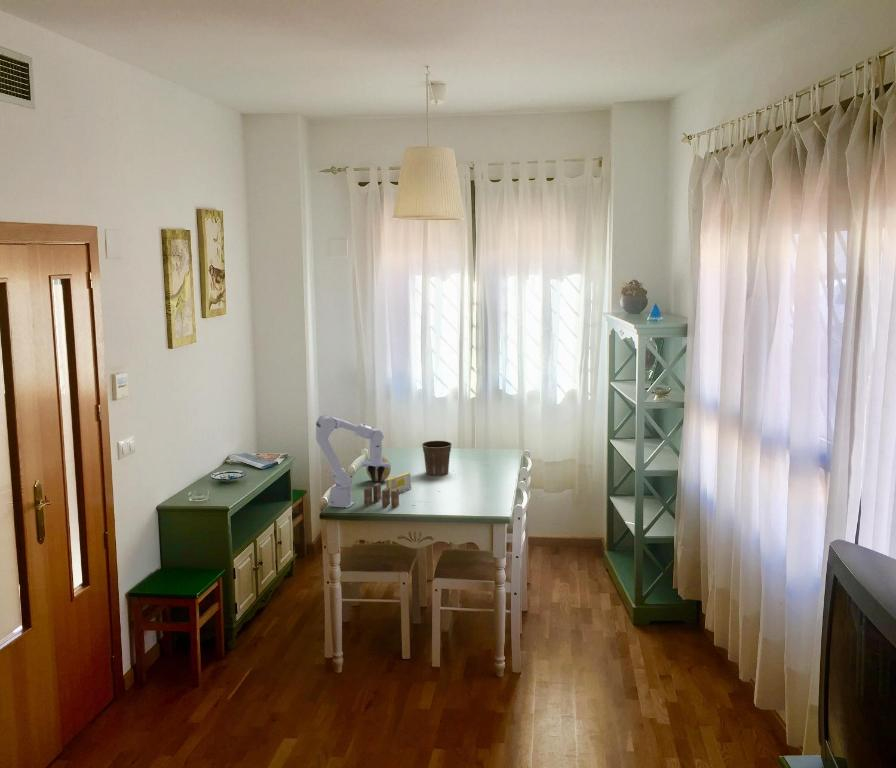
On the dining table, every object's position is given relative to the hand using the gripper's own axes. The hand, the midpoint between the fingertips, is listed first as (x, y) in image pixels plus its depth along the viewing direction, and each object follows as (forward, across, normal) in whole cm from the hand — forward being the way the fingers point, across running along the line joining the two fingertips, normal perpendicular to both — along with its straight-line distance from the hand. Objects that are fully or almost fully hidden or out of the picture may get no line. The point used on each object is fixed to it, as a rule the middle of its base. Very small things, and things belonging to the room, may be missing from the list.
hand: (376, 481), depth 413 cm
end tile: (+9, +2, +7) cm, 12 cm away
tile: (+9, 0, 0) cm, 9 cm away
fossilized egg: (+10, +12, -34) cm, 37 cm away
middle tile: (+9, -7, +7) cm, 14 cm away
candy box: (+10, -5, -17) cm, 20 cm away
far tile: (+9, -12, +7) cm, 16 cm away
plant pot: (+10, -13, -57) cm, 59 cm away
